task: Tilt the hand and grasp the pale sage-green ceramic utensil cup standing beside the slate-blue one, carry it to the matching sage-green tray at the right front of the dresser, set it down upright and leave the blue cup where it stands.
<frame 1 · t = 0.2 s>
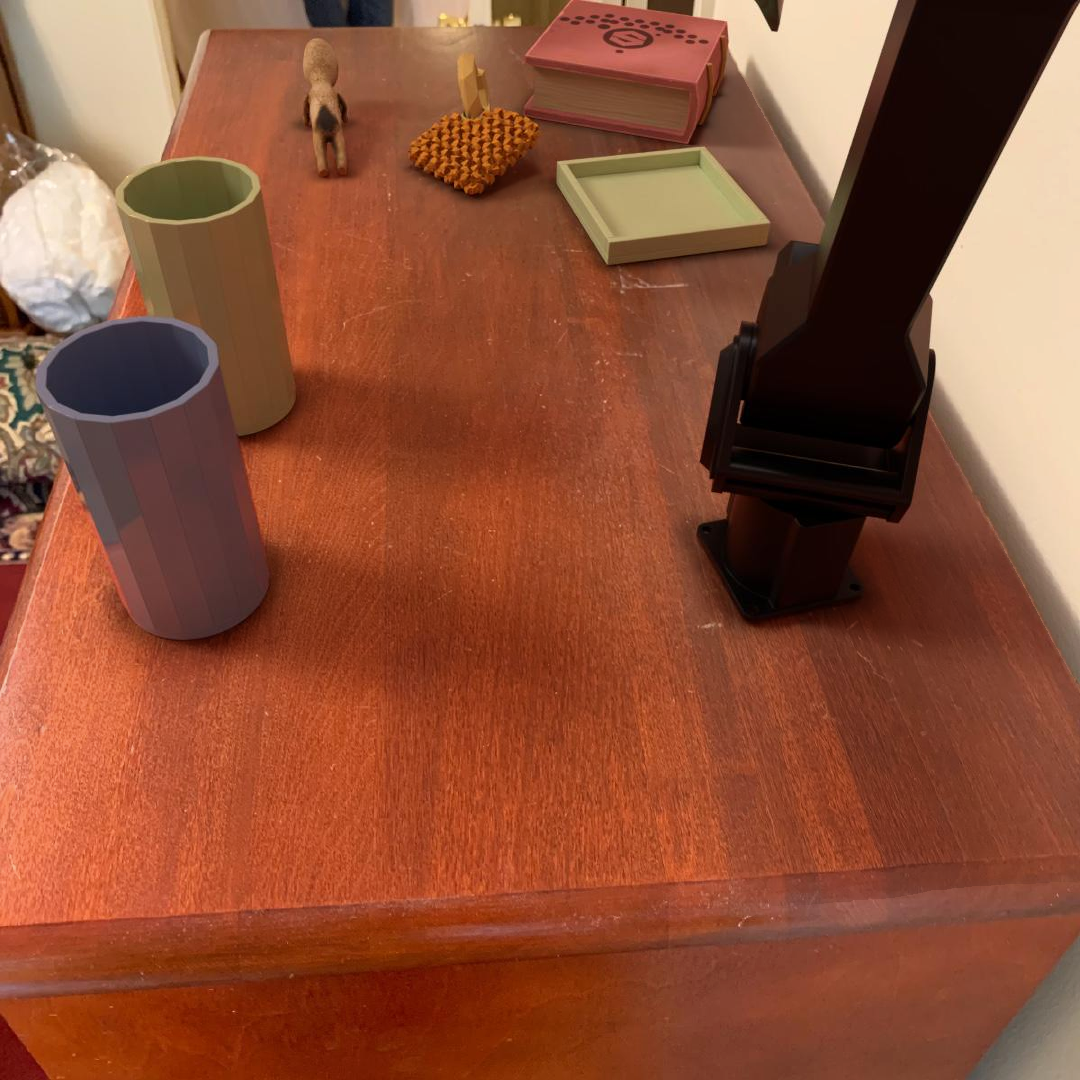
hand: (851, 33, 61), 15 cm above the table, tool tilted 35°, fingers open, 9 cm apart
green tray: (657, 213, 75), on the table
ornament: (476, 157, 81), on the table
book: (628, 99, 90), on the table
blue cup: (198, 584, 49), on the table
figurine: (327, 137, 83), on the table
green cup: (236, 399, 59), on the table
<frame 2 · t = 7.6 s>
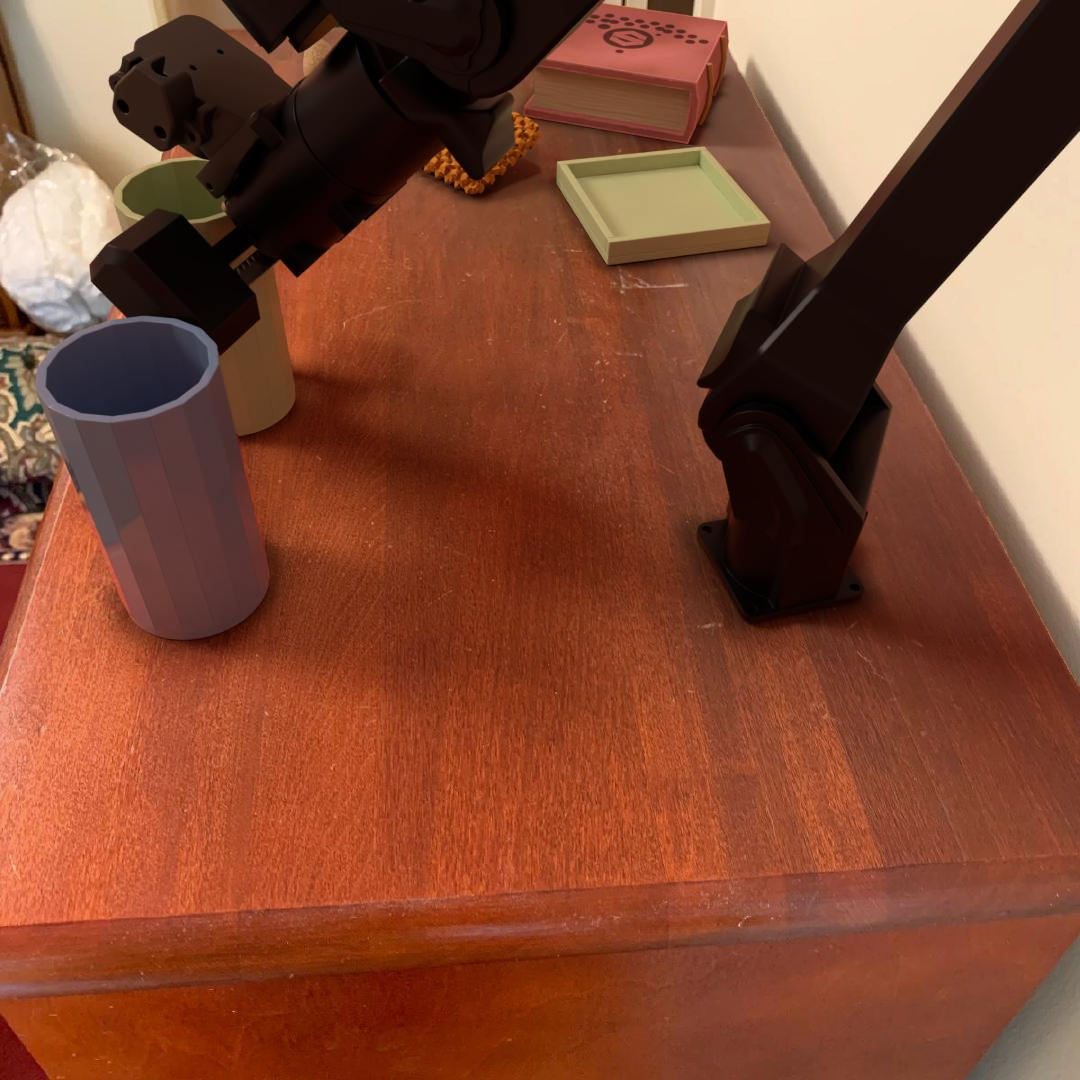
hand: (191, 294, 54), 7 cm above the table, tool tilted 45°, fingers closed on green cup, 7 cm apart
green cup: (236, 398, 59), on the table, touching gripper
everything else where it was.
when the fingers open (7 cm above the table, at t = 17.5 s): green cup stays where it is, resting on green tray.
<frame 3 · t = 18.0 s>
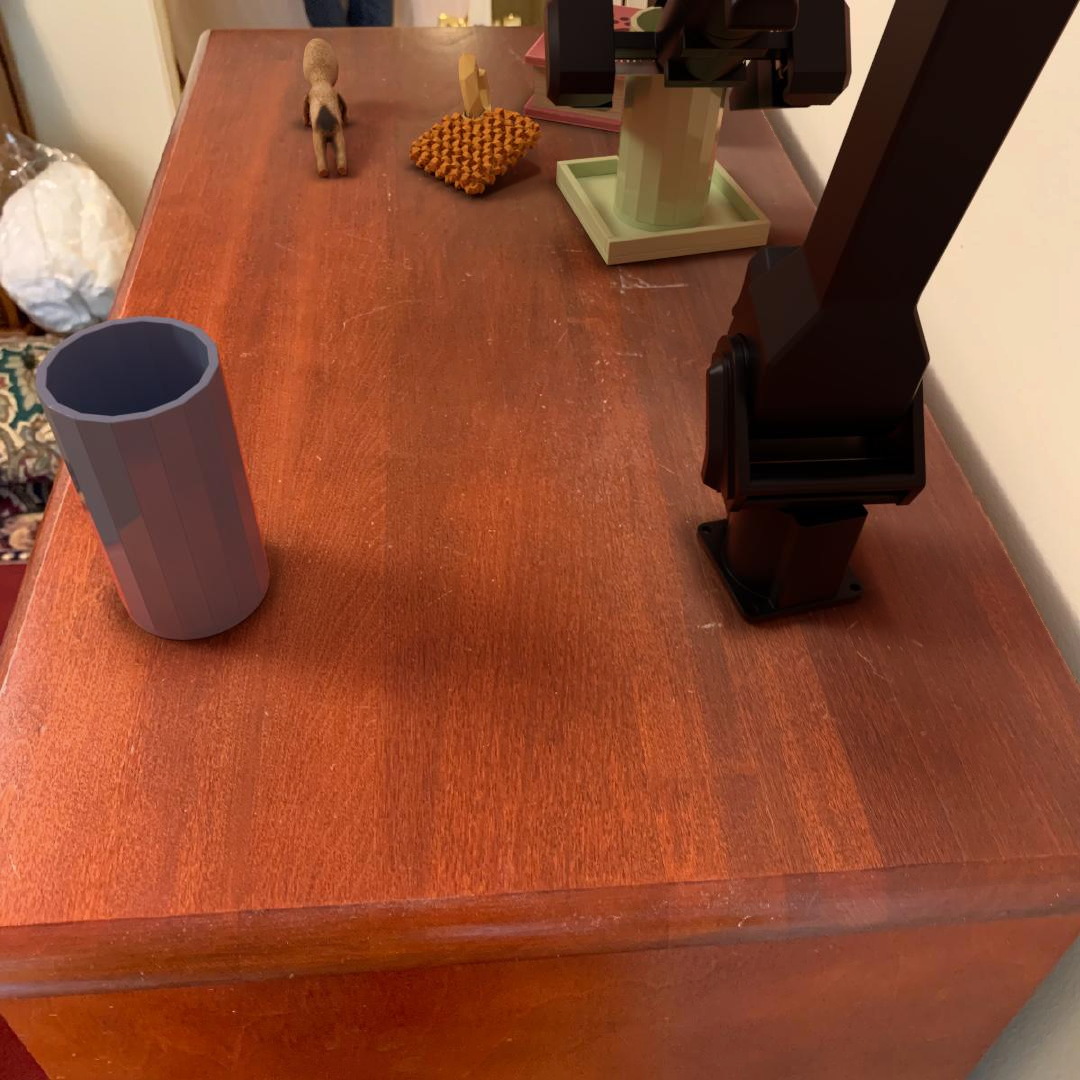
hand: (667, 104, 70), 8 cm above the table, tool tilted 45°, fingers open, 9 cm apart
green cup: (658, 209, 75), point 1 cm above the table, touching green tray
everything else where it was.
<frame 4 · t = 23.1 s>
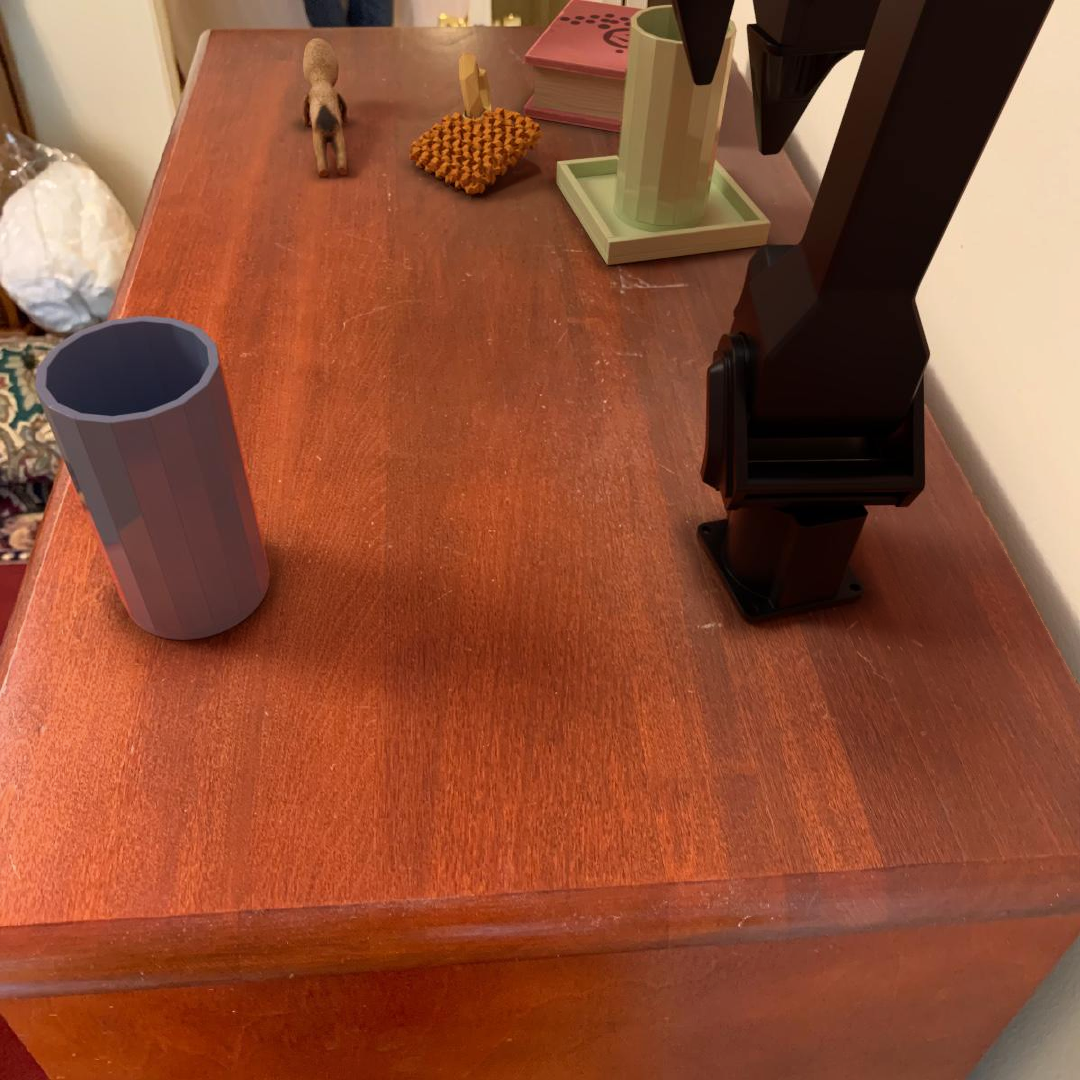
hand: (734, 117, 57), 13 cm above the table, tool pointing down, fingers open, 9 cm apart
nothing on the table moved.
at the end: green cup 0.5 cm off-centre in the green tray, point 0.6 cm above the green tray's base; green cup tilted 0°; blue cup moved 0.0 cm from its start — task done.
